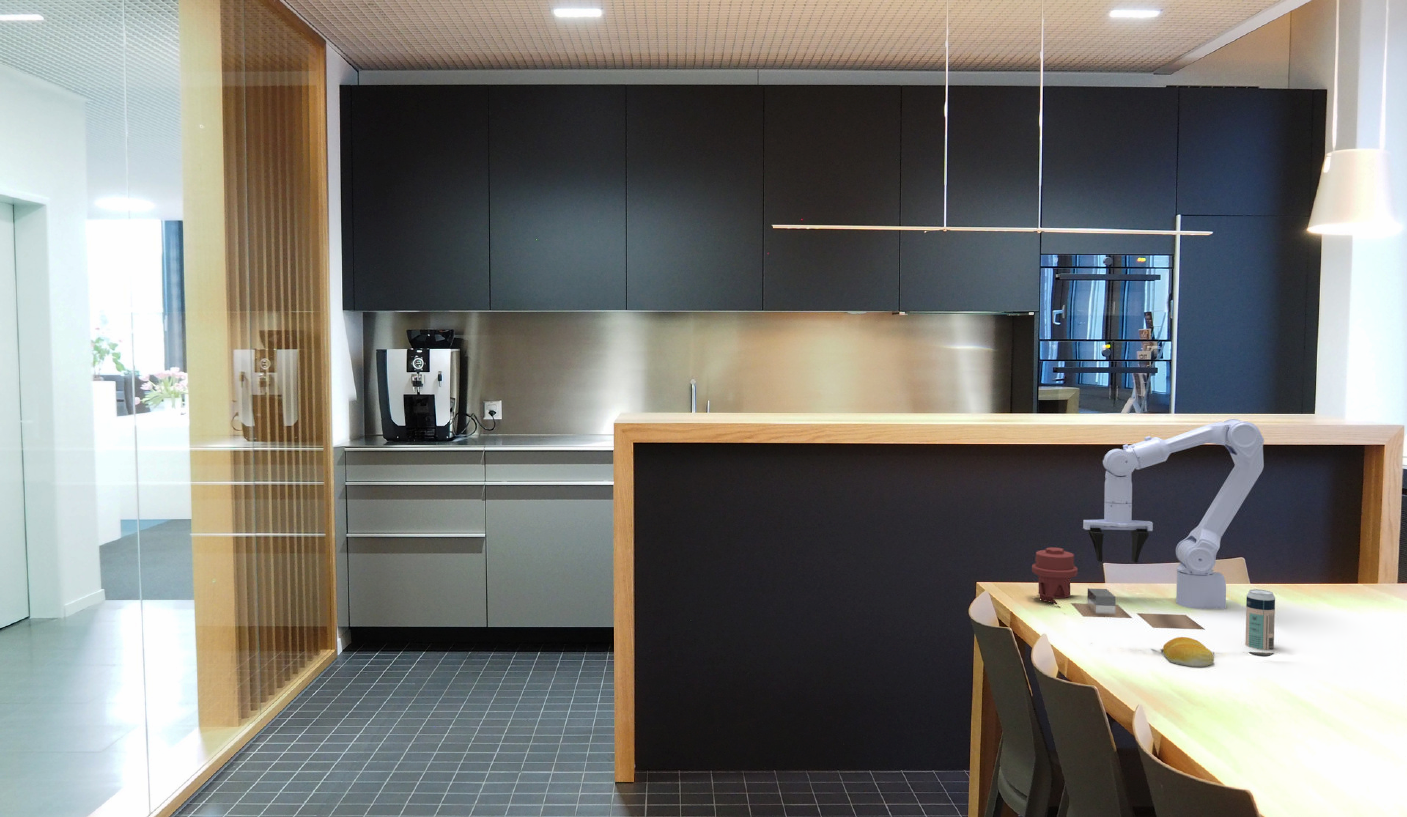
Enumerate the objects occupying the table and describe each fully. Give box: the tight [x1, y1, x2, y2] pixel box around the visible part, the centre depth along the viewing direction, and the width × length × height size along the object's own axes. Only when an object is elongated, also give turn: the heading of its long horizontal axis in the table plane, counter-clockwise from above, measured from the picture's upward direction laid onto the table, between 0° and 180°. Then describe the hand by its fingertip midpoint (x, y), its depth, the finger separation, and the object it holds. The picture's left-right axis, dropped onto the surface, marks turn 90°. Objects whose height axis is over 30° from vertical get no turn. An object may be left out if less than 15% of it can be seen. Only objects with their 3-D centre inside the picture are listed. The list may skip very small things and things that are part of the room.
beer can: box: [1244, 588, 1276, 658], centre depth 179 cm, size 5×5×12 cm
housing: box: [1086, 587, 1117, 615], centre depth 205 cm, size 4×7×4 cm, turn 172°
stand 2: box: [1136, 612, 1206, 630], centre depth 197 cm, size 10×11×2 cm
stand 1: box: [1070, 602, 1133, 619], centre depth 206 cm, size 10×11×2 cm
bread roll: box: [1162, 636, 1215, 668], centre depth 176 cm, size 8×9×4 cm
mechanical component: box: [1031, 546, 1079, 605], centre depth 219 cm, size 12×10×10 cm
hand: (1117, 561), depth 214 cm, fingers open, 7 cm apart
